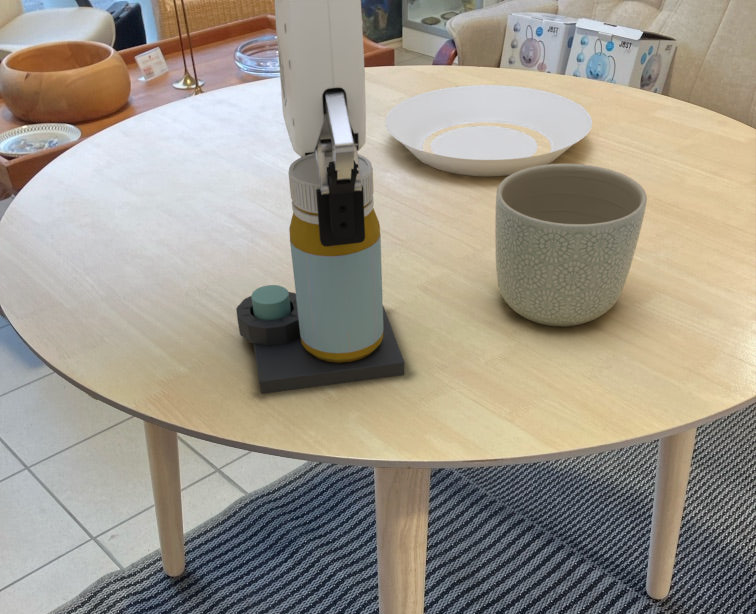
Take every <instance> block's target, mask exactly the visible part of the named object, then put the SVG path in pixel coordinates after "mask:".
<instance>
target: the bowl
mask: <svg viewBox="0 0 756 614" xmlns="http://www.w3.org/2000/svg"><path fill="white" fill-rule="evenodd" d="M479 123H492V124H493V123H494V124H507V125H511V126H512V125H513V126H518V127H522V128H526V129H529V130H531V131H535V132H536V133H539V134H540V135H542V136H543V137H544V138H546V139H547V140H548V141H549V144H550V151H549V152H547V153H543V154H538V155H535V154H536V153H537V151H538V147H539V144H538V143H537V140H535V138H534V137H532V136H530V134H529V133H526V132H523V131H521V130H517V129H514V128H509V127H504V126H497V125H496V126H495V125H473V126H464V127H459V128H454V129H451V130H447V131H445V132H443V133H440V134H438V135H437V136H436V137H434V139H433V140H432V141H431V143H430V150H431V151H432V152H428V151H425V150H424V147H423V146H424V144H425V142H426V140H427V139H428V138H429V137H430V136H432V135H433V134H434V133H437V132H439V131H441V130H444V129H448V128H451V127H455V126H460V125H467V124H479ZM384 124H385V128H386V130H387V131H388V133H389V134H390V136H391V137H393V138H394V139H395V140H396V141H398V142H400V143H401V144H402V145H403V146H404V147H405V148H406V149H407V150H408V151H409V152H410V153H411V154H412V155H413V156H414V157H415V158H416V159H418V160H419V161H420V162H422V163H423V164H425V165H427V166H429V167H431V168H433V169H436V170H439V171H443V172H446V173H451V174H456V175H462V176H470V177H503V176H504V177H505V176H509V175H511V174H513V173H515V172H518V171H520V170H523V169H526V168H530V167H535V166H540V165H548V164H552V163H553V162H554V161H555V160H557V159H558V158H559V157H560V156H561V155H563V154H564V153H565V152H566V151H567V150H569V149H570V148H571V147H572V146H573V145H575V144H577V143H578V142H580V141H581V140H582V139H583V138H585V137H586V136H587V135H588V134H589V133H590V131H591V130H592V126H593V119H592V116H591V114H590V113H589V111H588V110H587V109H586V108H584V107H583V105H581V104H579V103H577V101H574V100H572V99H570V98H567V97H565V96H563V95H560V94H557V93H553V92H550V91H546V90H543V89H542V90H541V89H537V88H533V87H532V88H531V87H525V86H517V85H516V86H515V85H504V84H501V85H500V84H471V85H459V86H449V87H444V88H439V89H435V90H429V91H426V92H422V93H419V94H416V95H414V96H413V95H412V96H411V97H409V98H406V99H404V100H402V101H401V102H399V103H397V104H396V105H394V106H393V107H392V108H391V109H390V110H389V111H388V113H387V114H386V117H385V120H384Z"/></svg>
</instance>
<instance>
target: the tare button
mask: <svg viewBox="0 0 756 614" xmlns="http://www.w3.org/2000/svg"><path fill="white" fill-rule="evenodd" d="M289 292H290V291H289V290H288V289H287V288H286V287H284V286H281V285H276V284H269V285H263V286H260V287H258V288H255V290H253V292H252V293H251V295H250V296H251V298H252V305H253V311H254V315H255V317H256V318H257V319H262V320H277V319H281V318H283V317H286V316H288V315H289V314H290V312H291V307H290V299H289Z"/></svg>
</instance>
